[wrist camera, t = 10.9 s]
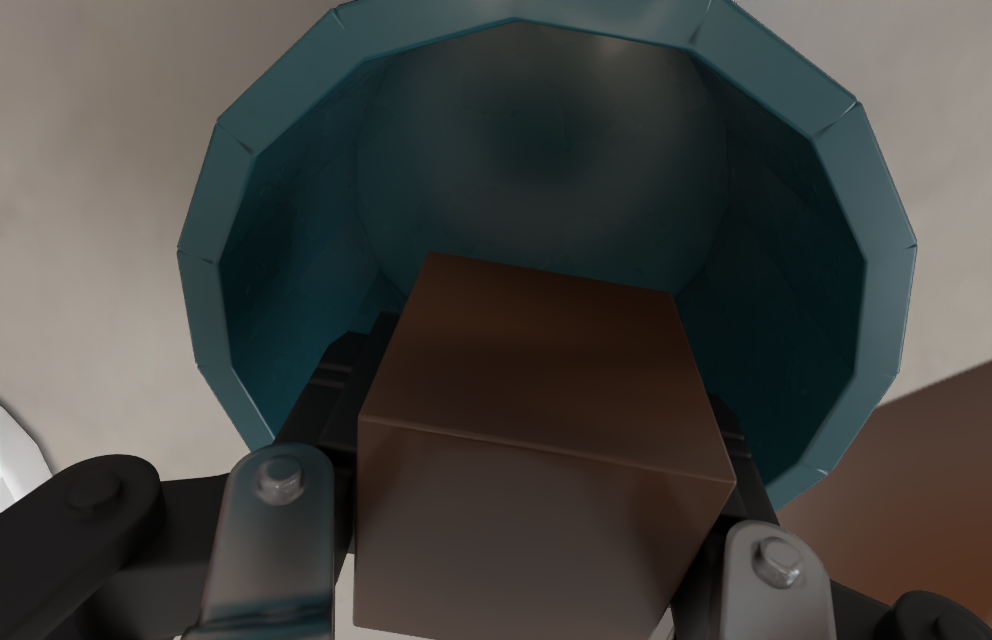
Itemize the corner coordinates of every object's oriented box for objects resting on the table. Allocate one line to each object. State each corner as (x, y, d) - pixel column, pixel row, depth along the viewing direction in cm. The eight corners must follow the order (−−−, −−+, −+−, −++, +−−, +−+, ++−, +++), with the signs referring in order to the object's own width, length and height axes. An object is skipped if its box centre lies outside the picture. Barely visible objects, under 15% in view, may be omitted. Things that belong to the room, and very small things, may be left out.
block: (671, 291, 10) (740, 482, 6) (608, 462, 13) (632, 674, 9) (427, 248, 10) (356, 416, 6) (410, 428, 12) (350, 628, 9)
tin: (827, 7, 16) (1114, 59, 8) (672, 387, 23) (736, 616, 15) (337, -80, 16) (110, -121, 8) (337, 330, 23) (222, 530, 15)
